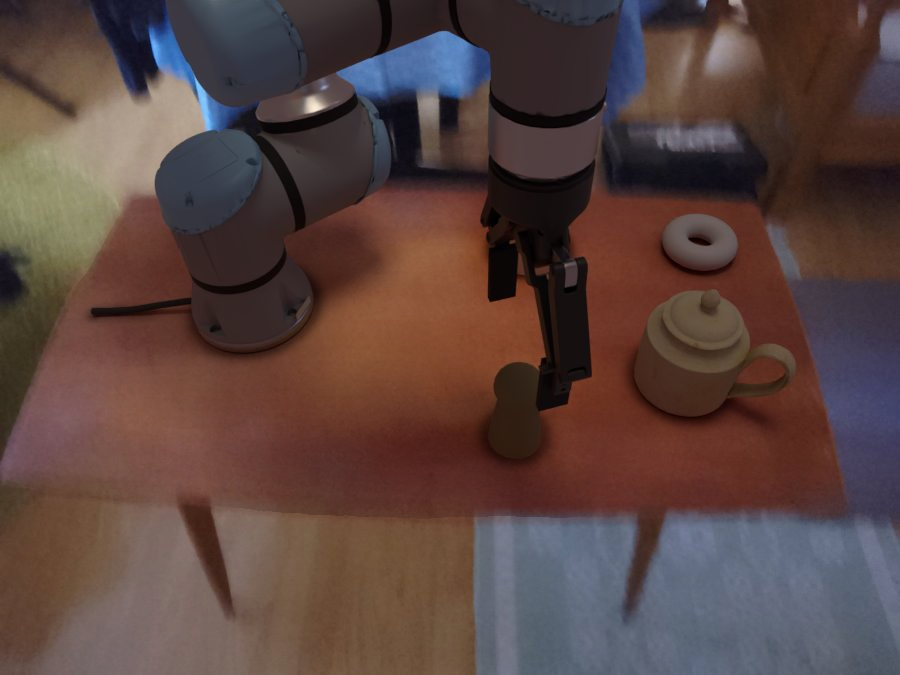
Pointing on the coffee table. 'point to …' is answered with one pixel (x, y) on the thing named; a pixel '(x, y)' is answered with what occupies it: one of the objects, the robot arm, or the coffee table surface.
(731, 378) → the sugar bowl
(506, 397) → the brown pawn
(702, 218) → the donut
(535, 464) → the coffee table surface
